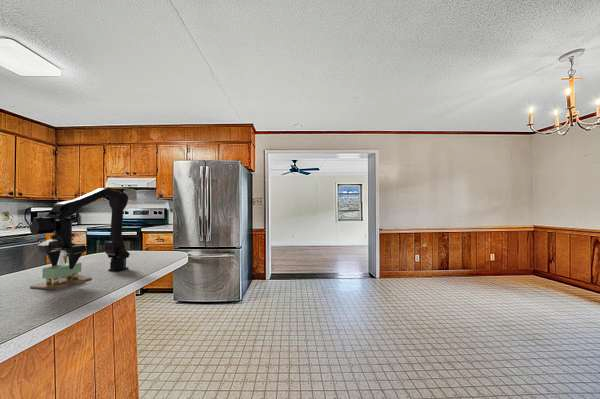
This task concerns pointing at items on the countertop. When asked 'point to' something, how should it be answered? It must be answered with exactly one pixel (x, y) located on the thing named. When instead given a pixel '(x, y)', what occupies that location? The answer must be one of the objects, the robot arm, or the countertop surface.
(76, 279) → the walnut base plate
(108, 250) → the robot arm
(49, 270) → the green board
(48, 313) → the countertop surface
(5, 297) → the countertop surface
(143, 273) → the countertop surface
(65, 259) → the beer glass
